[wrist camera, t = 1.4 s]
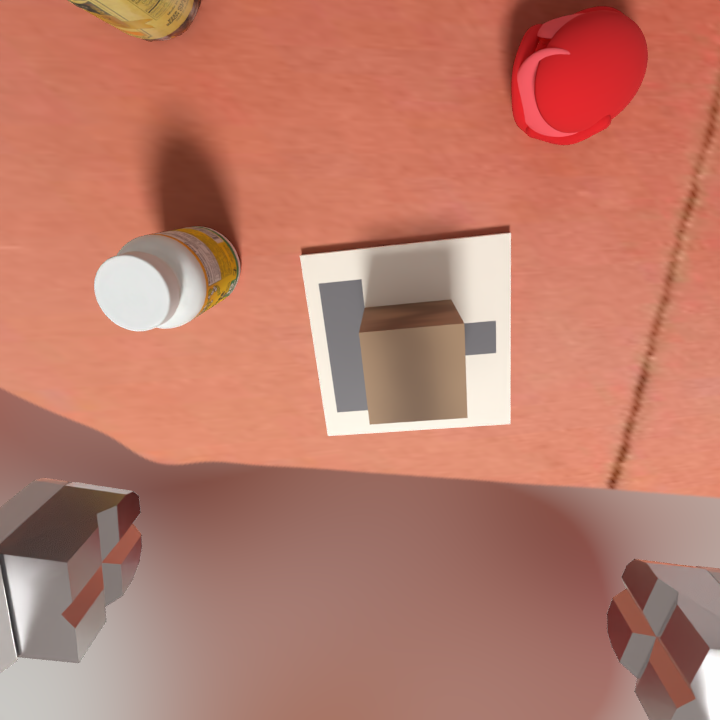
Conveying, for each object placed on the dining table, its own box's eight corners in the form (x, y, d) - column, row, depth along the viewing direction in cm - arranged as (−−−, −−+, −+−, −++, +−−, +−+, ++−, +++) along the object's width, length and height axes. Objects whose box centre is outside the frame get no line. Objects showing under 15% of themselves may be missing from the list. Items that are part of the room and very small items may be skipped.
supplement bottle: (221, 214, 31) (151, 223, 22) (254, 287, 32) (202, 325, 23) (154, 242, 32) (60, 262, 23) (189, 312, 33) (115, 357, 24)
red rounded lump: (492, 157, 25) (608, 164, 22) (500, 27, 22) (641, 14, 19) (539, 119, 30) (640, 121, 27) (552, 7, 26) (672, -6, 23)
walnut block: (451, 299, 31) (464, 323, 25) (454, 379, 33) (467, 417, 27) (364, 307, 32) (358, 332, 26) (373, 385, 34) (369, 424, 28)
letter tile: (508, 232, 30) (510, 233, 29) (508, 420, 35) (510, 423, 34) (301, 254, 31) (299, 255, 31) (328, 432, 36) (327, 436, 35)
